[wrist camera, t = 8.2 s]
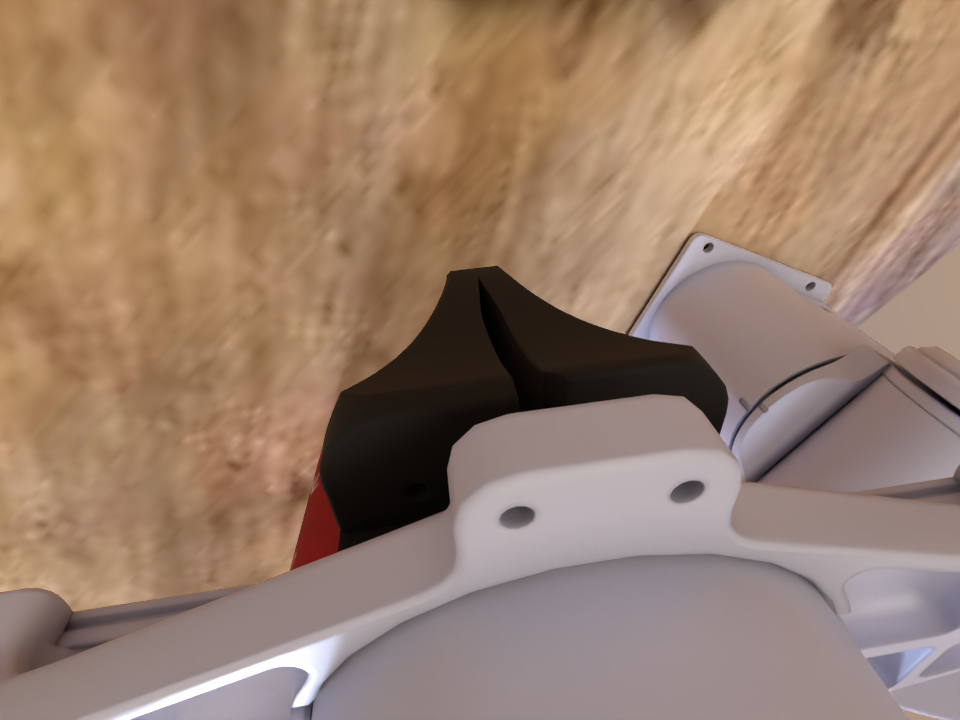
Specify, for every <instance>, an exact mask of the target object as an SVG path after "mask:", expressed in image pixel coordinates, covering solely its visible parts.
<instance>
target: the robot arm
mask: <svg viewBox="0 0 960 720" xmlns="http://www.w3.org/2000/svg"><path fill="white" fill-rule="evenodd" d="M708 243H710V244H709V247H708V248H707V249H704V250H703V248H704V246H705V245H706V244H708ZM809 283H810V284H809ZM808 284H809V285H808ZM807 285H808V286H807ZM806 286H807V287H806ZM831 290H832V285H831V284H830V283H829V282H827V281H825V280H823V279H820V278H818V277H815V276H813V275H810V274H807V273H805V272H802V271H800V270H797V269H795V268H792V267H789V266H787V265H784V264H782V263H779V262H777V261H774V260H771V259H769V258H766V257H764V256H761V255H759V254H756V253H753V252H751V251H748V250H746V249H743V248H741V247H738V246H735V245H733V244H730V243H728V242H725V241H723V240H720V239H717V238H715V237H712V236H710V235H707V234H705V233H700V232H699V233H696V234H694V235H692V236H691V237H690V239H689V240H688V242H687V243H686V245H685V246H684V248H683V249H682V251H681V252H680V254H679V256H678V257H677V259H676V260H675V262H674V263H673V265H672V267H671V268H670V270H669V271H668V273H667V274H666V276H665V277H664V279H663V281H662V282H661V284H660V285H659V287H658V288H657V290H656V292H655V293H654V295H653V296H652V298H651V299H650V301H649V302H648V304H647V306H646V307H645V309H644V310H643V312H642V313H641V315H640V317H639V318H638V320H637V321H636V323H635V324H634V326H633V327H632V329H631V331H630V332H629V334H628V335H625V334H621V333H618V332H614V331H611V330H608V329H605V328H602V327H599V326H596V325H593V324H590V323H588V322H585V321H582V320H580V319H578V318H576V317H574V316H572V315H569V314H567V313H565V312H563V311H561V310H559V309H557V308H556V307H554V306H552V305H550V304H549V303H547V302H545V301H544V300H542V299H541V298H539V297H538V296H536V295H535V294H533V293H532V292H530V291H529V290H527V289H526V288H525V287H523V286H522V285H521V284H519V283H518V282H517V281H516V280H514V279H513V278H512V277H510V276H509V275H508V274H507V273H506V272H504V271H503V270H502V269H501V268H499V267H498V266H492V267H483V268H475V269H466V270H457V271H450V272H449V274H448V275H447V279H446V284H445V287H444V290H443V293H442V295H441V297H440V299H439V302H438V304H437V306H436V308H435V310H434V312H433V313H432V315H431V317H430V318H429V320H428V322H427V323H426V325H425V326H424V328H423V329H422V331H421V332H420V333H419V335H418V336H417V337H416V338H415V339H414V341H413V342H412V343H411V344H410V345H409V346H408V347H407V348H406V349H405V350H404V351H403V352H402V353H401V354H400V355H399V356H398V357H397V358H395V359H394V360H393V361H392V362H390V363H389V364H388V365H386V366H385V367H384V368H382V369H381V370H379V371H378V372H376V373H375V374H373V375H372V376H370V377H368V378H367V379H365V380H363V381H361V382H359V383H358V384H356V385H354V386H352V387H350V388H348V389H346V390H344V391H342V392H341V393H340V395H339V398H338V400H337V402H336V405H335V408H334V410H333V413H332V416H331V418H330V421H329V424H328V427H327V430H326V434H325V438H324V443H323V449H322V456H321V462H320V468H319V473H320V478H321V484H322V487H323V490H324V492H325V495H326V497H327V500H328V502H329V505H330V507H331V510H332V512H333V515H334V517H335V520H336V522H337V525H338V528H339V530H340V535H339V544H338V552H337V553H335V554H332V555H330V556H327V557H324V558H322V559H319V560H317V561H314V562H312V563H309V564H306V565H304V566H301V567H299V568H296V569H294V570H291V571H288V572H286V573H283V574H281V575H278V576H276V577H273V578H270V579H268V580H265V581H263V582H260V583H258V584H252V585H245V586H239V587H232V588H226V589H219V590H212V591H206V592H199V593H193V594H186V595H180V596H173V597H167V598H160V599H154V600H147V601H141V602H134V603H128V604H121V605H115V606H108V607H102V608H95V609H89V610H82V611H76V612H73V611H72V610H71V608H70V607H69V606H68V604H67V603H66V602H65V601H64V600H63V599H62V598H61V597H60V596H59V595H57V594H55V593H53V592H51V591H48V590H44V589H39V588H26V589H19V590H13V591H6V592H0V720H909V719H908V718H907V716H906V715H905V713H904V712H903V710H902V709H904V710H907V711H911V712H915V713H919V714H922V715H926V716H929V717H934V718H937V719H942V720H960V361H959V360H958V359H956V358H955V357H953V356H951V355H950V354H948V353H947V352H945V351H944V350H942V349H940V348H939V347H920V348H918V349H916V348H914V347H910V346H909V347H905V348H903V349H902V350H901V351H900V352H899V353H897V354H896V355H895V354H893V353H892V352H891V351H889V350H888V349H886V348H885V347H884V346H882V345H881V344H879V343H878V342H877V341H875V340H874V339H872V338H871V337H869V336H868V335H867V334H865V333H864V332H863V331H861V330H860V329H858V328H857V327H856V326H854V325H853V324H851V323H850V322H849V321H847V320H846V319H844V318H843V317H842V316H840V315H839V314H837V313H836V312H835V311H833V310H832V309H830V308H829V307H828V306H826V305H825V304H823V303H822V302H823V301H824V300H825V298H826V297H827V296H828V295H829V294H830V292H831Z"/></svg>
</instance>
